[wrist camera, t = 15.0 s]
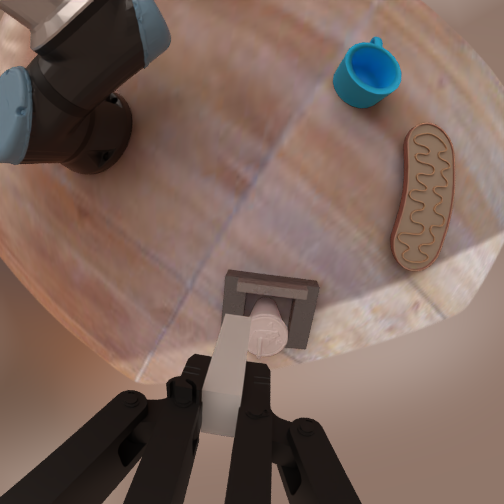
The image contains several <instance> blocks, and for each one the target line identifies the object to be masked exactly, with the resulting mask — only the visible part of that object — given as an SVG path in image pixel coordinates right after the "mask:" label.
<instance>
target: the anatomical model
mask: <svg viewBox="0 0 504 504" xmlns="http://www.w3.org/2000/svg"><path fill="white" fill-rule="evenodd" d="M454 194H455V155H454V148H453V145H452V142H451V140H450V138H449V137H448V135H447V134H446V133H445V131H444V130H443V129H441V128H440V127H439V126H437V125H435V124H432V123H421V124H418V125H417V126H415V127H413V128H412V129H411V130H410V131H409V132H408V134H407V136H406V138H405V141H404V183H403V193H402V198H401V203H400V208H399V211H398V215H397V218H396V221H395V224H394V228H393V231H392V234H391V239H390V243H391V250H392V253H393V256H394V257H395V259H396V261H397V262H398V263H399V264H400V265H401V266H402V267H404V268H405V269H407V270H410V271H421V270H424V269H426V268H428V267H429V266H430V265H432V264H433V263H434V261H435V260H436V259H437V257H438V256H439V253H440V251H441V248H442V246H443V243H444V240H445V236H446V233H447V230H448V227H449V223H450V218H451V214H452V209H453V203H454Z"/></svg>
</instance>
